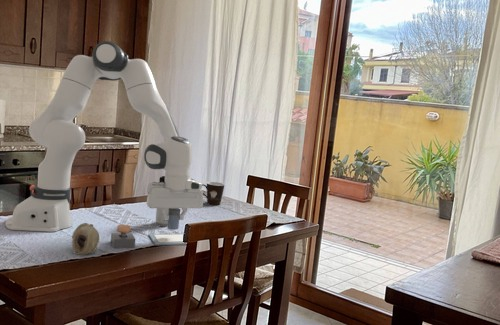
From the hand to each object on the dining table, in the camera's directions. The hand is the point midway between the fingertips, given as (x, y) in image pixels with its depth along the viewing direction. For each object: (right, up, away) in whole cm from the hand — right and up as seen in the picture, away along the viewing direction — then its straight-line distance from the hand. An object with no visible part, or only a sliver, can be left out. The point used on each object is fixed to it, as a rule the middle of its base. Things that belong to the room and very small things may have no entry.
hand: (173, 219), depth 189 cm
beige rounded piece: (-25, -8, -22) cm, 34 cm away
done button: (-16, -6, -11) cm, 20 cm away
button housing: (-16, -7, -10) cm, 20 cm away
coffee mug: (+9, +1, +65) cm, 65 cm away
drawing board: (-1, -7, +1) cm, 8 cm away
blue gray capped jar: (0, -3, 0) cm, 3 cm away
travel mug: (-7, -4, +19) cm, 21 cm away
